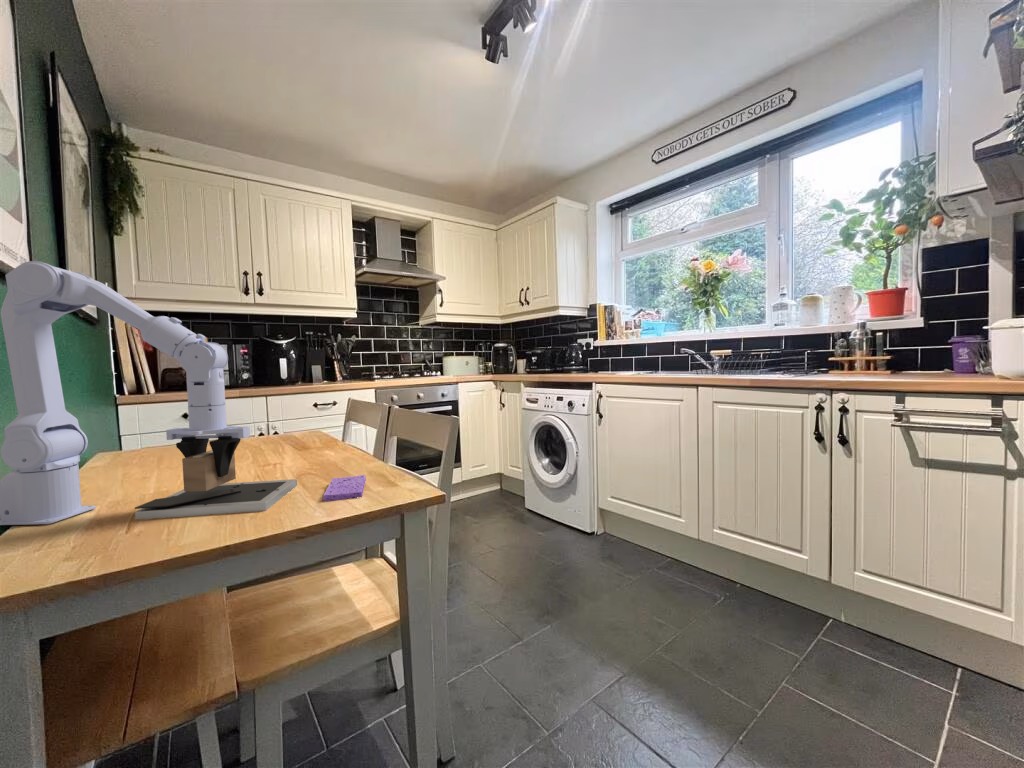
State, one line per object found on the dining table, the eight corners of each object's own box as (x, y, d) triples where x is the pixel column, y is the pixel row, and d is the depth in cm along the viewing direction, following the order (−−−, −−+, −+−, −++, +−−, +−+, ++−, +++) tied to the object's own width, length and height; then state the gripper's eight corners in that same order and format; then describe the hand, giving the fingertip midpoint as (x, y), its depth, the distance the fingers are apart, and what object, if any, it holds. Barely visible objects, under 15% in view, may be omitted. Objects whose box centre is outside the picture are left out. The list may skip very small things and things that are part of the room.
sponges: (366, 482, 92) (365, 474, 91) (362, 500, 79) (361, 490, 79) (332, 486, 90) (332, 477, 89) (323, 504, 77) (322, 494, 77)
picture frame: (135, 523, 70) (266, 514, 73) (134, 507, 70) (265, 498, 73) (192, 495, 85) (297, 488, 89) (191, 482, 85) (297, 475, 89)
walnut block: (215, 479, 82) (214, 448, 82) (235, 478, 82) (234, 448, 82) (184, 491, 74) (182, 457, 74) (206, 490, 74) (204, 457, 74)
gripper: (150, 408, 73) (154, 482, 74) (230, 406, 73) (234, 480, 74) (181, 404, 80) (185, 472, 81) (255, 403, 80) (258, 470, 81)
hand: (210, 475), depth 78 cm, fingers closed on walnut block, 4 cm apart
